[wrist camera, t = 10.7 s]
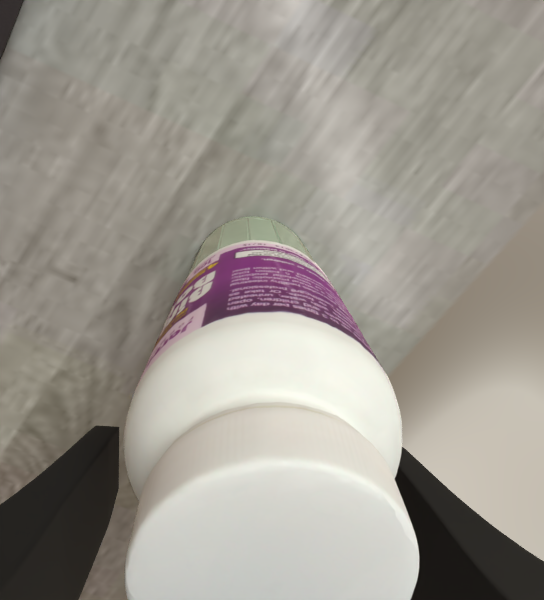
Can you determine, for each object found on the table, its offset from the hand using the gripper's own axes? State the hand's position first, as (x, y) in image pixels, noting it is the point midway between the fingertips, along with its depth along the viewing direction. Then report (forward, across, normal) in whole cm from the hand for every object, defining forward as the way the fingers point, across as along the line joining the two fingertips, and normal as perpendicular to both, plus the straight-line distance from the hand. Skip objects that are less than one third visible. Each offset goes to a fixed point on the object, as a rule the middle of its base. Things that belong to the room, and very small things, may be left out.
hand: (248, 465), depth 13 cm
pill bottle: (+4, 0, -3) cm, 5 cm away
